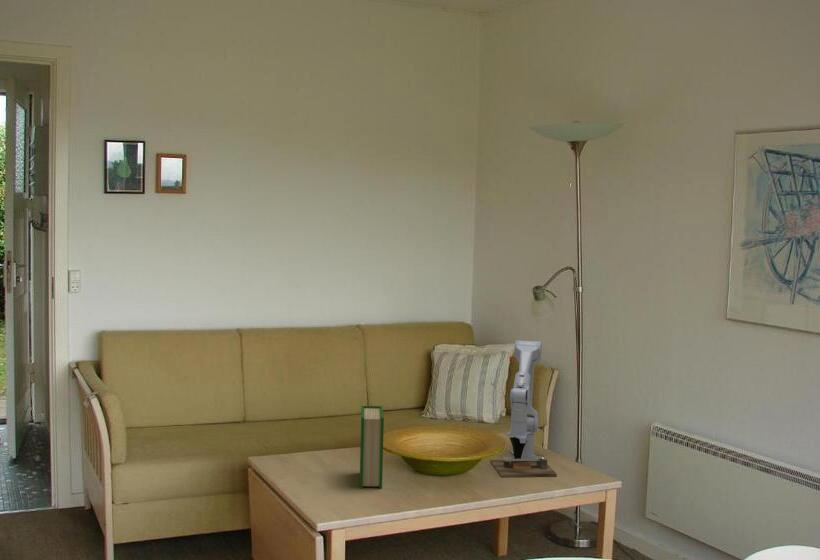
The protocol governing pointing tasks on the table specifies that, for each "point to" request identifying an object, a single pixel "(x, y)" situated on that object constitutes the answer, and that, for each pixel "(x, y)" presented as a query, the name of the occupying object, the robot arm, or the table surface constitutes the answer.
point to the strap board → (523, 468)
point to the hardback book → (371, 446)
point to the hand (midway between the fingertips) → (517, 457)
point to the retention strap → (524, 458)
